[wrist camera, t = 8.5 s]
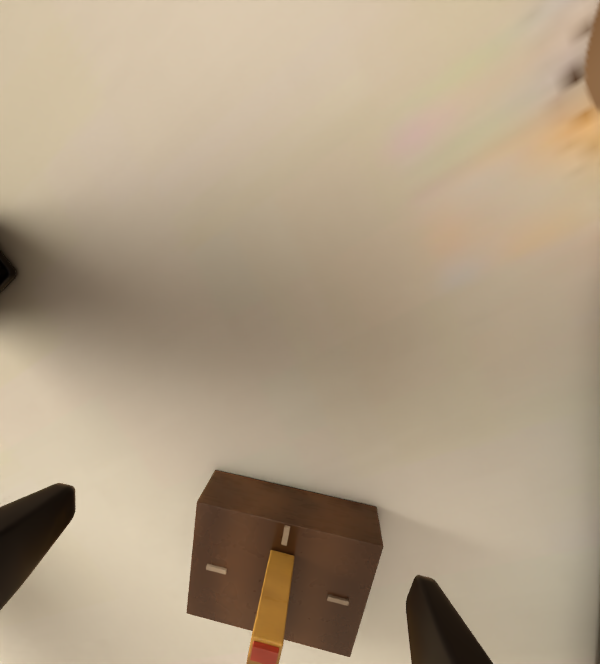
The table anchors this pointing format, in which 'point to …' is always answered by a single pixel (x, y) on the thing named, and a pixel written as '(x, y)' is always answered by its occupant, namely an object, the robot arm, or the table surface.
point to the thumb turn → (272, 610)
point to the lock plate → (291, 538)
